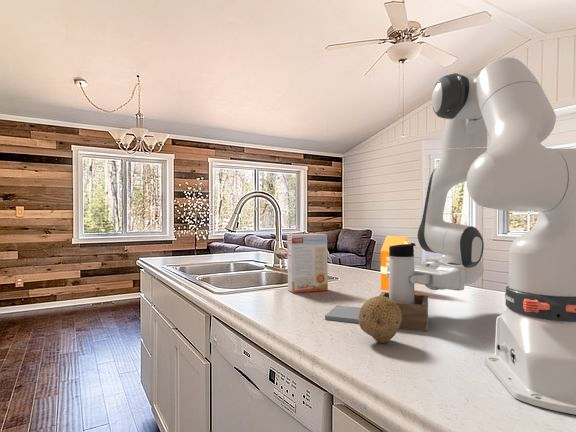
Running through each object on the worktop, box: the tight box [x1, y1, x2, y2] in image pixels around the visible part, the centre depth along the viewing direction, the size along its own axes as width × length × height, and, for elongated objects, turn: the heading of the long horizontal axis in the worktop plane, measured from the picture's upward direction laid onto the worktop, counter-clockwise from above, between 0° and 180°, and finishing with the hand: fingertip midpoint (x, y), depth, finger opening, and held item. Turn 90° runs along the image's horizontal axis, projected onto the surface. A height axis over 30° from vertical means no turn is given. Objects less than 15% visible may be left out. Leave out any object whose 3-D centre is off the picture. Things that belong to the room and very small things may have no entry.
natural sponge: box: [358, 295, 402, 344], centre depth 76 cm, size 9×9×10 cm
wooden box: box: [378, 291, 429, 332], centre depth 92 cm, size 12×12×6 cm
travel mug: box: [388, 242, 416, 304], centre depth 92 cm, size 6×7×20 cm
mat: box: [324, 305, 361, 324], centre depth 97 cm, size 12×11×1 cm
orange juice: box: [380, 235, 410, 291], centre depth 133 cm, size 8×9×20 cm
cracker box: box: [286, 233, 329, 294], centre depth 131 cm, size 14×6×21 cm, turn 108°
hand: (399, 277), depth 92 cm, fingers closed on travel mug, 6 cm apart
